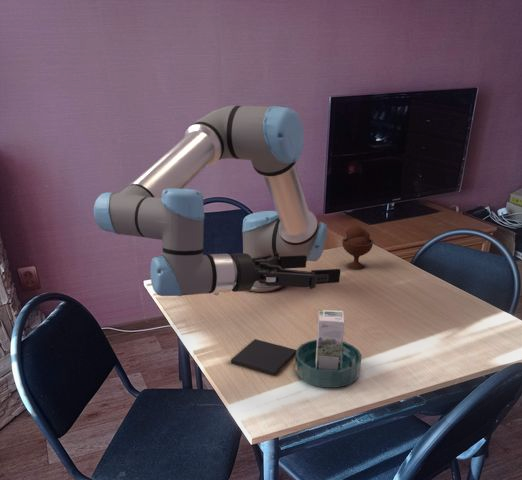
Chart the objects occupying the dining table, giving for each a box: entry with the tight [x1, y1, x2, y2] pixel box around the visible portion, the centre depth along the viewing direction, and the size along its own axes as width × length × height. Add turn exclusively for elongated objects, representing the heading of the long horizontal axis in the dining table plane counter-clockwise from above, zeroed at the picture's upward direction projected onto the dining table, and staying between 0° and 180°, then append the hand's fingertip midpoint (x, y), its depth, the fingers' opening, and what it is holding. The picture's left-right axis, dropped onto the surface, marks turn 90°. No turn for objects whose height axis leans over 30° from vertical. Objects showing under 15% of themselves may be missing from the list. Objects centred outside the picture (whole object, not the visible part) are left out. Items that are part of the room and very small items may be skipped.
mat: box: [230, 338, 297, 377], centre depth 125 cm, size 12×12×1 cm
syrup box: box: [316, 309, 346, 371], centre depth 116 cm, size 6×6×14 cm
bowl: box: [294, 339, 362, 388], centre depth 119 cm, size 15×15×4 cm
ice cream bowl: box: [341, 224, 374, 270], centre depth 177 cm, size 11×11×15 cm
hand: (321, 268), depth 109 cm, fingers open, 13 cm apart
